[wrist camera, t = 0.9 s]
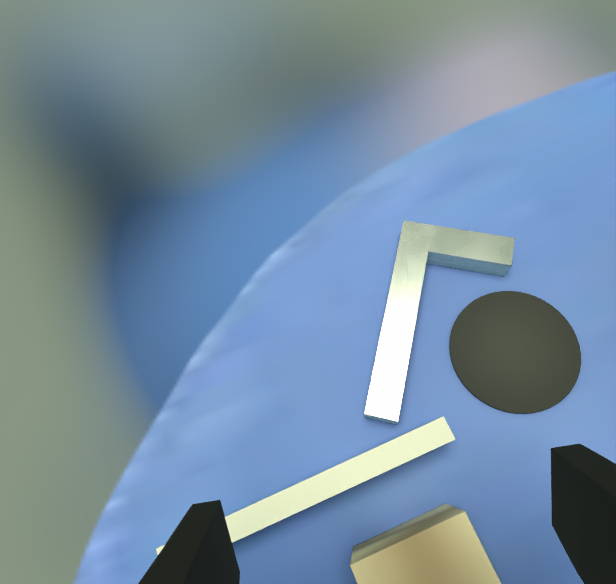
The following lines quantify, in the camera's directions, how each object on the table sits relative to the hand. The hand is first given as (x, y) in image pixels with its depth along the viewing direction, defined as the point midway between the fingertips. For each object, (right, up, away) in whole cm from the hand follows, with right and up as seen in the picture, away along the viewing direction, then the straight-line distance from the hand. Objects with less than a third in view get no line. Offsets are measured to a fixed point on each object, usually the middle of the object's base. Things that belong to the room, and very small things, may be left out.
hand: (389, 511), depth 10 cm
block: (+3, -7, +10) cm, 13 cm away
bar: (+5, +3, +14) cm, 15 cm away
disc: (+8, +2, +13) cm, 15 cm away
